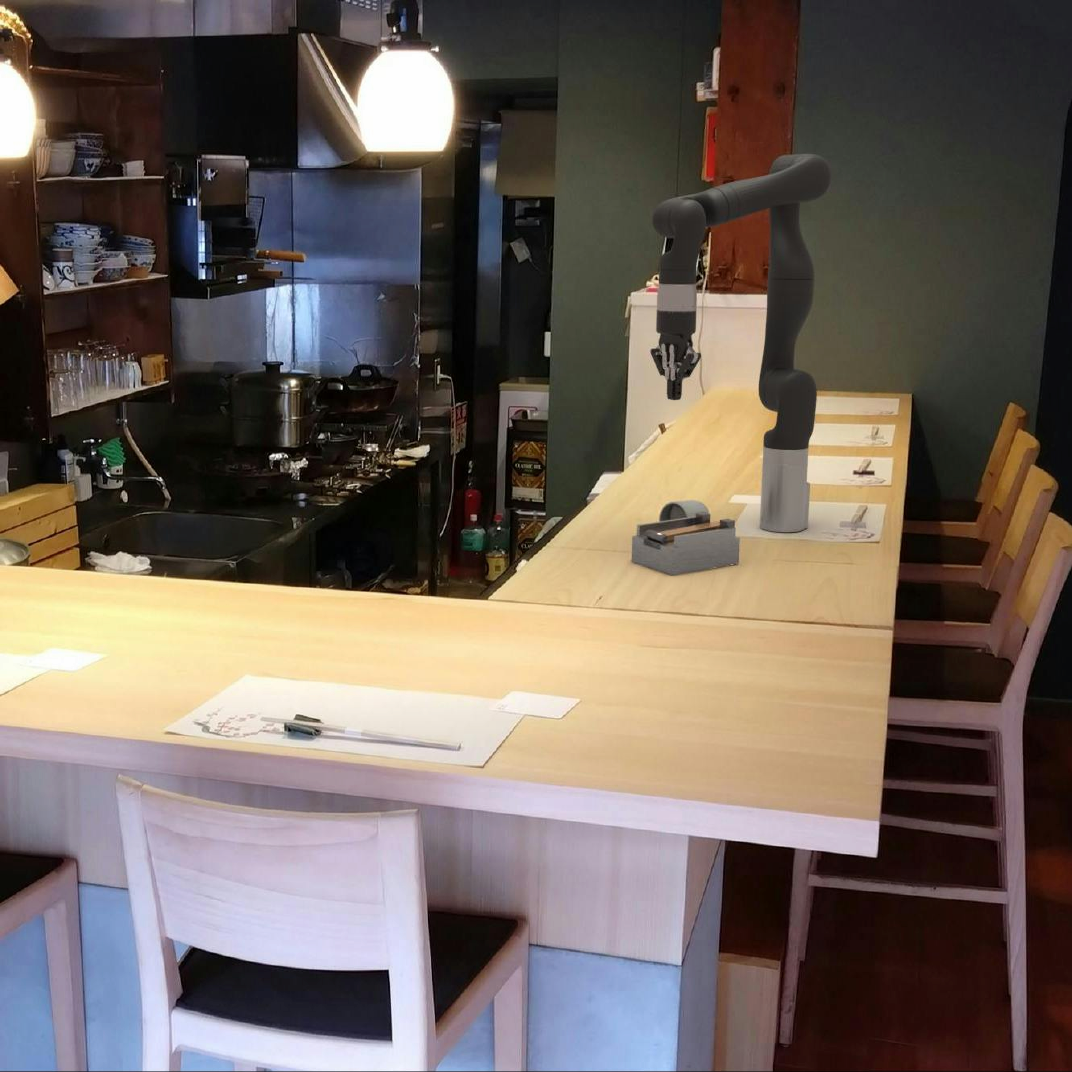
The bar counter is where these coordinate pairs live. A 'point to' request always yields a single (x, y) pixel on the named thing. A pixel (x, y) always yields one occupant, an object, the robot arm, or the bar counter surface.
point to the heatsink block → (686, 546)
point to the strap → (681, 531)
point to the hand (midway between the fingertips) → (673, 399)
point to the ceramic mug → (681, 510)
